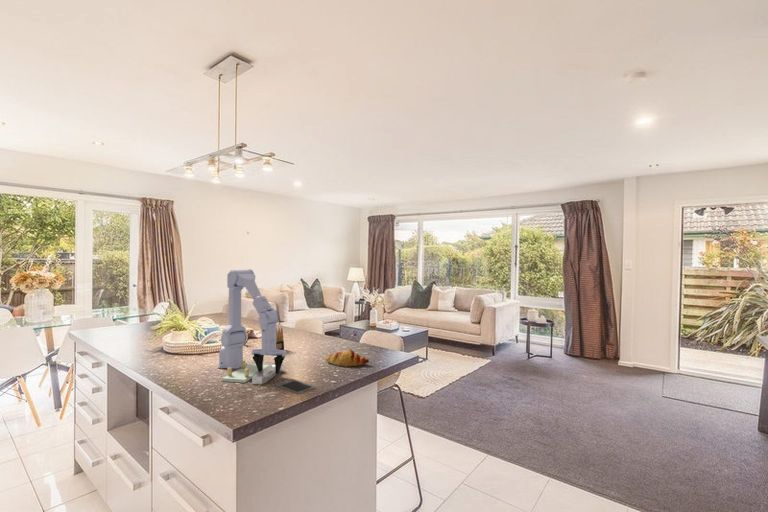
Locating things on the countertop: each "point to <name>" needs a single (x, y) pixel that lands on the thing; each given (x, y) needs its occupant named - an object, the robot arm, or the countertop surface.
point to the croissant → (347, 359)
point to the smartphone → (295, 386)
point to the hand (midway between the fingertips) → (268, 372)
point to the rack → (242, 373)
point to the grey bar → (265, 375)
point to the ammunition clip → (279, 339)
